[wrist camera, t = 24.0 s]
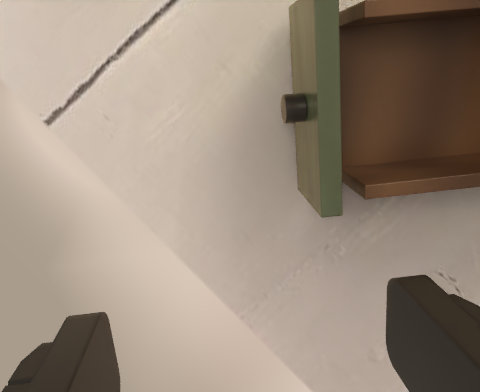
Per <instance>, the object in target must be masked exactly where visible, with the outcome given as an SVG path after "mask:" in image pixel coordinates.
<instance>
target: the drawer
mask: <svg viewBox="0 0 480 392" xmlns="http://www.w3.org/2000/svg"><path fill="white" fill-rule="evenodd" d="M289 17H290V37H291V57H292V77H293V94H287V95H283V96H282V98H281V112H282V118H283V121H284V123H295V137H296V157H297V177H298V190H299V191H300V192H301V193H302V195H303V196H304V197H305V198H306V199H307V201H308V202H309V203H310V204H311V205H312V207H313V208H314V209H315V210H316V212H317V213H318V214H319V215H320V216H321V217H322V218H323V217H332V216H340V215H342V214H343V211H342V182H343V183H345V184H346V185H347V186H349V187H350V188H351V189H352V190H354V191H355V192H356V193H358V194H359V195H360V196H362V197H363V198H364V199H372V198H381V197H390V196H399V195H408V194H417V193H426V192H435V191H444V190H453V189H462V188H471V187H479V186H480V0H365V1H362V2H360V3H358V4H356V5H354V6H352V7H349V8H347V9H345V10H343V11H341V12H339V0H297V1H296V2H295V3H294V4H292V5H291V6H290V7H289Z"/></svg>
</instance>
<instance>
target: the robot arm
mask: <svg viewBox="0 0 480 392" xmlns="http://www.w3.org/2000/svg"><path fill="white" fill-rule="evenodd" d="M386 345H387V351H388V354H389V358H390V361H391V363H392V365H393V367H394V369H395V370H396V372H397V374H398V375H399V377H400V378H401V380H402V381H403V383H404V384H405V386H406V387H407V389H408V390H409V392H480V307H479V306H478V305H476V304H474V303H472V302H470V301H467V300H465V299H463V298H461V297H459V296H457V295H455V294H450V295H448V294H447V293H446V292H445V291H444V290H443V289H442V288H441V287H439V286H438V285H437V284H436V283H435V282H434V281H433V280H432V279H431V278H429V277H428V276H426V275H417V276H408V277H400V278H392V279H390V280H389V282H388V285H387V310H386ZM2 392H120V374H119V368H118V363H117V358H116V353H115V348H114V343H113V338H112V333H111V329H110V323H109V319H108V316H107V314H106V313H105V312H99V313H91V314H82V315H73V316H68V317H67V318H66V320H65V321H64V323H63V325H62V326H61V328H60V330H59V332H58V334H57V336H56V337H55V339H54V341H53V342H50V343H42V344H41V345H40V346H38V347H37V348H36V349H35V350H34V351H33V352H31V353H30V355H28V356H27V357H26V358H24V359H23V360H22V361H21V362H20V364H19V365H18V367H17V369H16V370H15V372H14V373H13V375H12V377H11V378H10V380H9V381H8V386H5V388H4V389H3V391H2Z"/></svg>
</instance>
